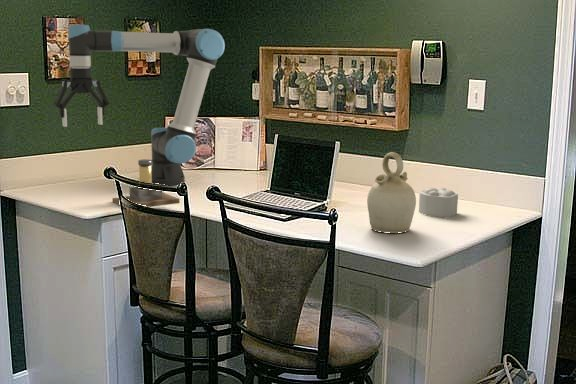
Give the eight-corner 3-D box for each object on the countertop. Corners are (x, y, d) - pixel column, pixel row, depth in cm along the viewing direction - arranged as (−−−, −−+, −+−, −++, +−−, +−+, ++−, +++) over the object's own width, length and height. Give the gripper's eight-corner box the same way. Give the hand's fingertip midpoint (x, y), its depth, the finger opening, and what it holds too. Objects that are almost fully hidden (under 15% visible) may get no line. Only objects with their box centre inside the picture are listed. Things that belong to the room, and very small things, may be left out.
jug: (381, 237, 228) (385, 156, 223) (357, 225, 241) (360, 149, 236) (424, 233, 234) (428, 154, 229) (397, 222, 247) (401, 147, 242)
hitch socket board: (162, 196, 283) (161, 181, 282) (179, 202, 272) (179, 188, 270) (112, 202, 271) (112, 187, 270) (128, 209, 260) (128, 193, 259)
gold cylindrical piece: (149, 196, 275) (148, 158, 272) (155, 198, 271) (154, 160, 268) (136, 197, 272) (135, 160, 269) (142, 200, 268) (141, 162, 265)
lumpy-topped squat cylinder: (447, 218, 253) (449, 193, 252) (413, 213, 261) (414, 189, 259) (459, 213, 262) (461, 189, 260) (425, 208, 269) (426, 184, 267)
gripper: (108, 66, 282) (110, 122, 286) (43, 67, 268) (46, 126, 272) (116, 67, 276) (118, 124, 280) (50, 68, 262) (53, 128, 266)
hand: (82, 125), depth 276 cm, fingers open, 13 cm apart
